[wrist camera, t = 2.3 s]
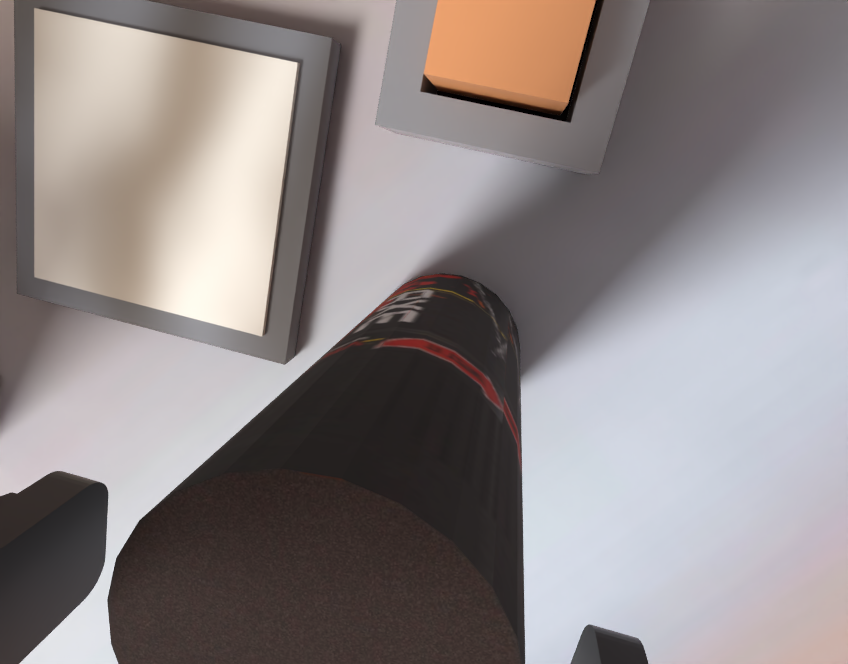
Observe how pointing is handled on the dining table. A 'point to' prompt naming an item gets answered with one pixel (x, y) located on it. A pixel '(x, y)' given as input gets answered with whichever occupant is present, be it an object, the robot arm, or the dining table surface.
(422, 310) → the deodorant
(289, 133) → the drawing board
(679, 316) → the dining table surface
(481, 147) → the button housing
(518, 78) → the button
